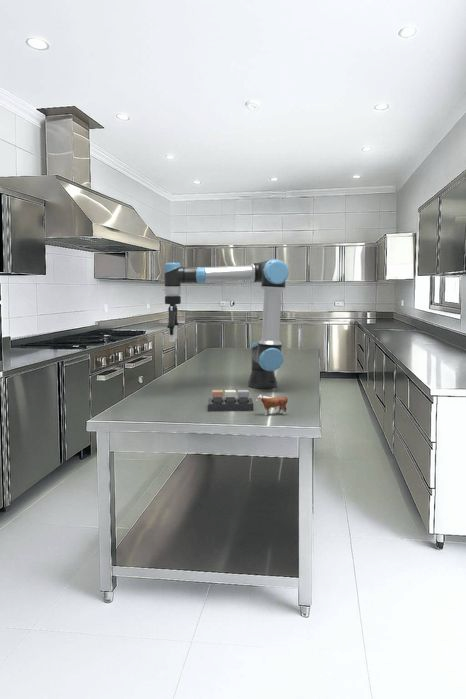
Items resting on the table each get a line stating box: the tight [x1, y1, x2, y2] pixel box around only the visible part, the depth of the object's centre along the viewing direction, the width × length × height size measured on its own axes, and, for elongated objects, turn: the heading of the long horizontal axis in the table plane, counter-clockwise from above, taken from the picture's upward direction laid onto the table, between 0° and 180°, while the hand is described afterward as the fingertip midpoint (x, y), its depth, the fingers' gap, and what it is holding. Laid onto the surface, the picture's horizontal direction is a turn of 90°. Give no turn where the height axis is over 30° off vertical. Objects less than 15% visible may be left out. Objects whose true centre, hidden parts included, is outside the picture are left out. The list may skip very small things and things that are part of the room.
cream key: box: [224, 389, 237, 402], centre depth 238 cm, size 5×5×5 cm
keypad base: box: [207, 397, 254, 412], centre depth 238 cm, size 19×12×3 cm, turn 92°
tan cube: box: [211, 389, 224, 402], centre depth 237 cm, size 5×5×5 cm
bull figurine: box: [254, 394, 288, 416], centre depth 227 cm, size 4×13×8 cm, turn 95°
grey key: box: [237, 389, 250, 402], centre depth 238 cm, size 5×5×5 cm
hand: (173, 340), depth 264 cm, fingers open, 13 cm apart
